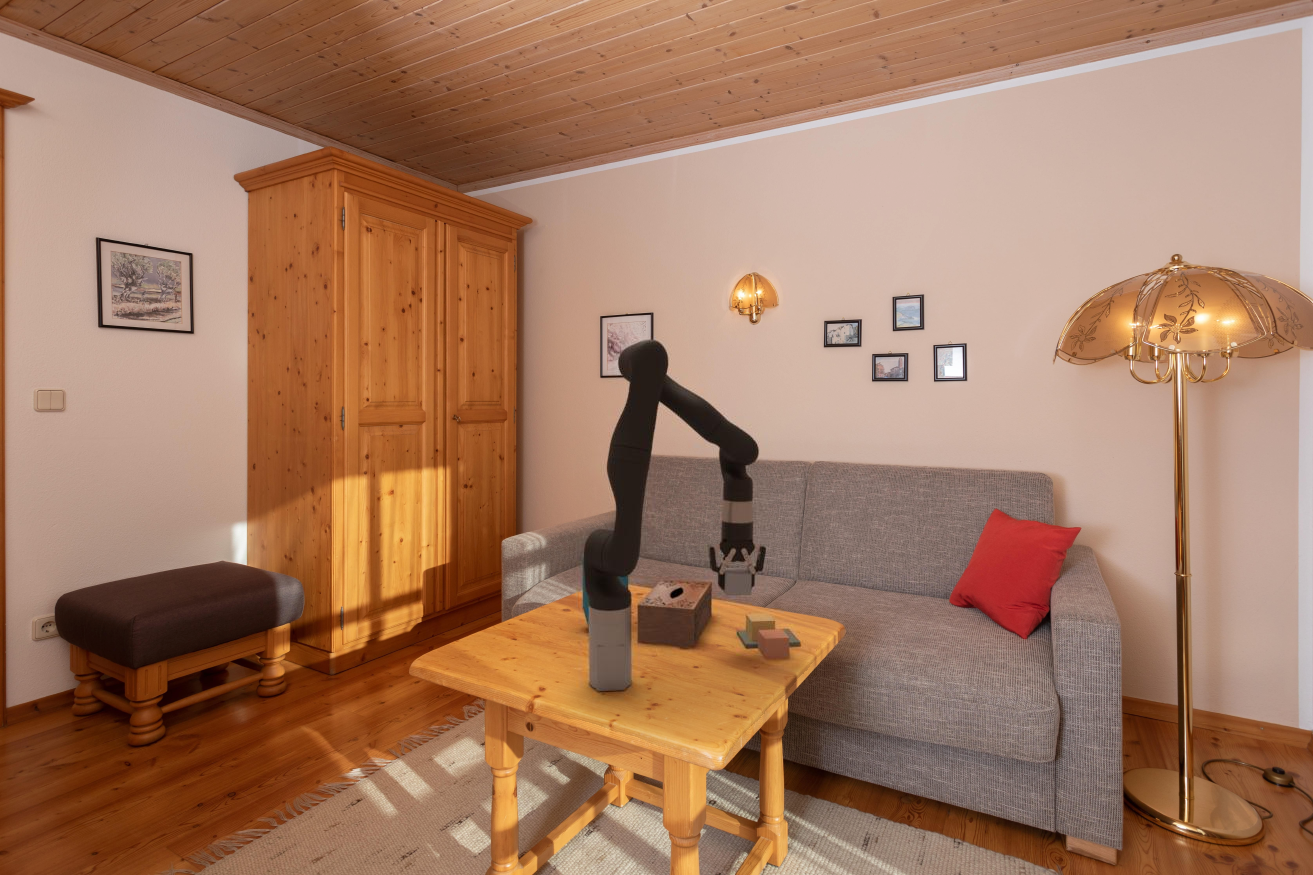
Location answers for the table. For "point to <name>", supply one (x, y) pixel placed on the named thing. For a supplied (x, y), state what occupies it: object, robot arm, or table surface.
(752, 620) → the ochre block
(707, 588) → the tissue box cover
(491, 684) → the table surface
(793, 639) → the felt mat
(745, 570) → the slate block
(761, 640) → the terracotta block
